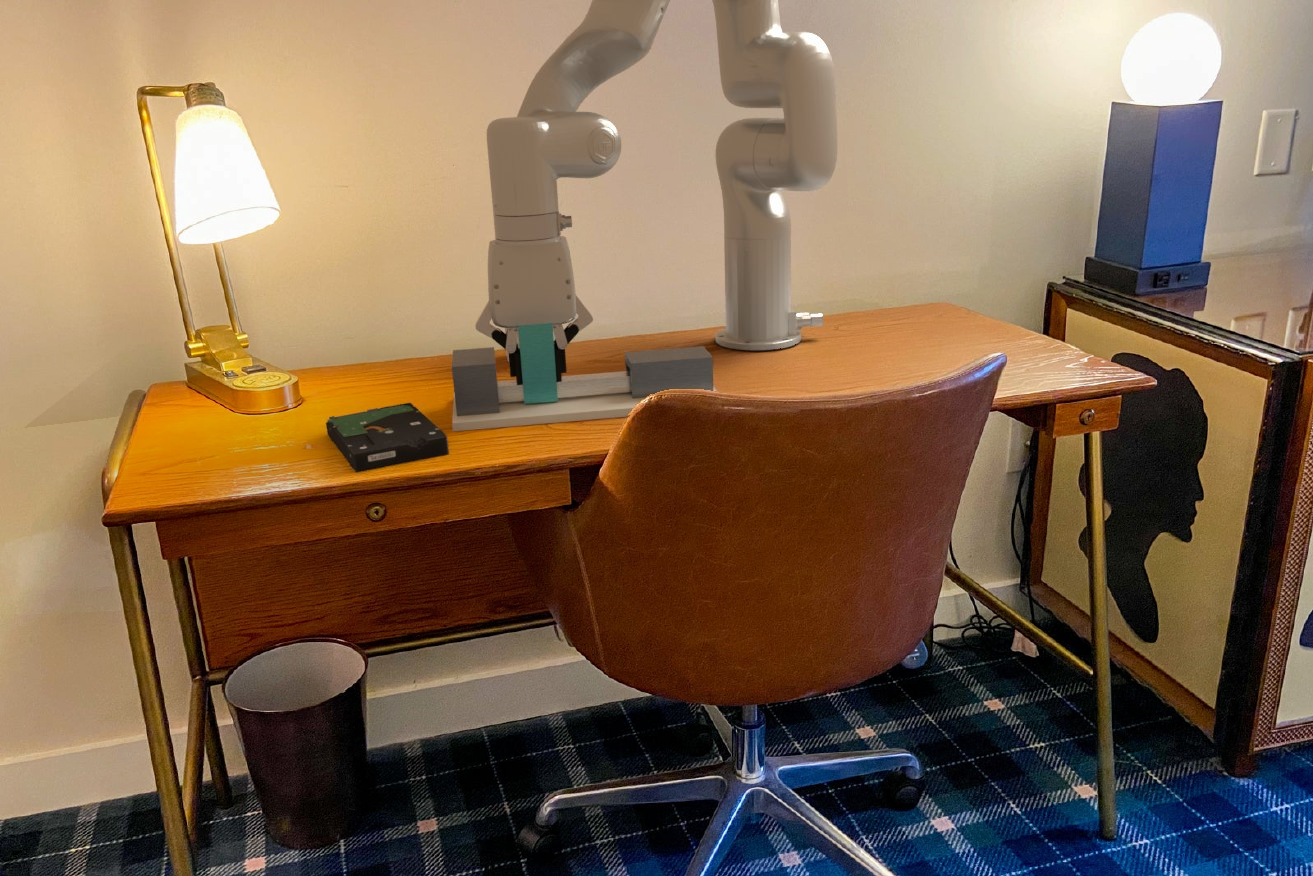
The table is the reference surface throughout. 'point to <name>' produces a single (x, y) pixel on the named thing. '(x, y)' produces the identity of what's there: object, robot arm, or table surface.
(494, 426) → the base board
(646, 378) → the sleeve
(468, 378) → the socket
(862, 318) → the table surface
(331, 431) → the disk drive
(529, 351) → the bolt
